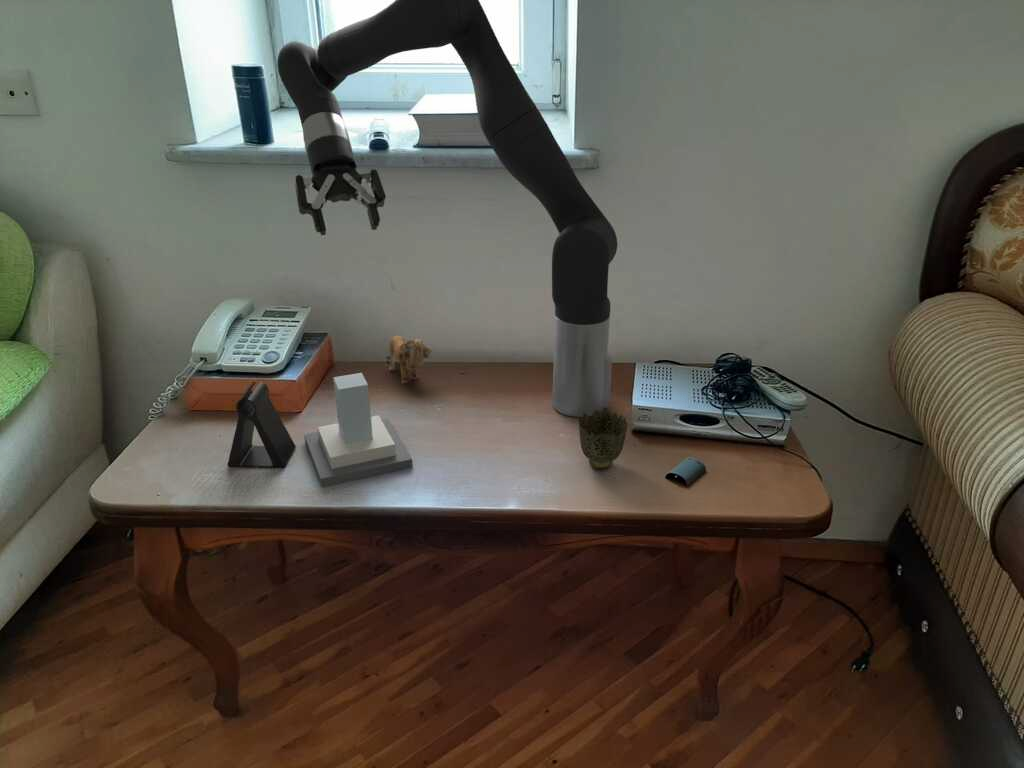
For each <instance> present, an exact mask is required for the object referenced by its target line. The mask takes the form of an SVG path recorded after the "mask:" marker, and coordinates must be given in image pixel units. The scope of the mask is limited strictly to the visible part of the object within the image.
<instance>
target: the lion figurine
mask: <svg viewBox="0 0 1024 768" xmlns="http://www.w3.org/2000/svg"><path fill="white" fill-rule="evenodd" d="M388 350H389V355H387V356H386V357H385V358H386V360H389V368H388V371H389V372H394V371H395V370H396V368H395V358H396V360H397V362H398V363H399V370H400V375H401V384H403V383H406V384H408V383H409V382H408V381H409V380H408V376H407V369H408V370H410V371H411V378H412V379H413V380H415V379H417V380H419V379H420V376H419V375H418V374H417V370H418V368H420V366H421V365H422V364H423V363H424V361H425V359H426V360H429V358H430V355H431V354H432V349H431V348H429V347H427V346H426V345H425V344H423V340H422V339H420V338H417V339H416V338H414V339H411V340H408V341H406V340H405V338H404V337H403V336H400V335H395V336H392V337H391V338H390V341H389V346H388ZM418 378H419V379H418Z"/></svg>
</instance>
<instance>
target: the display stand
mask: <svg viewBox="0 0 1024 768" xmlns="http://www.w3.org/2000/svg"><path fill="white" fill-rule="evenodd" d="M371 424H372V435H373V439H370V440H365V441H360V442H355V443H349V444H344V441H343V439H342V437H341V434H340V432H339V424H338V422H337V423H331V424H327V425H322V426H317V431H315V432H310V433H304V434H303V436H304V443H305V446H306V447H307V451H308V453H309V454H308V455H310V456H309V457H310V458H311V462H312V465H313V467H314V470H315V473H316V475H317V478H318V481H319V483H320V486H321V488H323V487H328V486H329V487H330V486H333V485H338V484H342V483H347V482H352V481H356V480H361V479H365V478H371V477H374V476H378V475H382V474H388V473H392V472H396V471H397V472H398V471H403V470H406V469H411V468H413V466H414V465H413V458H412V456H411V454H410V453H409V451H408V449H407V448H406V446H405V445H404V443H403V441H402V439H401V437H400V436H399V435H398V433H397V431H396V429H395V427H394V425H393V424H392V423H391V421H390V418H388V417H387V418H386V417H385V418H383V419H381V416H380V415H379V414H377V415H373V416H371Z"/></svg>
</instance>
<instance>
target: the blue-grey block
mask: <svg viewBox="0 0 1024 768" xmlns="http://www.w3.org/2000/svg"><path fill="white" fill-rule="evenodd" d="M333 386H334V388H333V389H334V395H335V397H334V398H335V406H336V413H337V423H338V424H339V432H340V434H341V437H342V439H343V441H344V444H349V443H355V442H360V441H365V440H370V439H373V435H372V424H371V417H372V416H371V415H372V414H371V403H370V394H369V391H370V390H369V384H368V382H367V380H366V378H365V376H364V374H363V372H359V373H353V374H347V375H340V376H339V375H338V376H334V377H333Z"/></svg>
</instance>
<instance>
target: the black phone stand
mask: <svg viewBox="0 0 1024 768" xmlns="http://www.w3.org/2000/svg"><path fill="white" fill-rule="evenodd" d="M255 385H256V381H252V382H251V383H250V385H249V386H248V387H247V389H246V390H245V391H244V393H243V394H242V395H241V397H240V399H238V401H237V402H236V405H235V406H236V407H235V408H236V411H237V418H238V419H237V423H236V427H235V430H234V435H233V439H232V443H231V444H232V445H231V448H230V453H229V457H228V462H227V467H228V468H241V469H243V468H244V469H245V468H246V469H247V468H248V469H249V468H250V469H251V468H252V469H255V468H258V469H285V468H286V466H287V464H288V463H289V460H290V459H291V457H292V455H293V453H294V452H295V449H296V444H295V442H294V440H293V439H292V437H291V435H290V433H289V431H288V430H287V428H286V426H285V424H284V422H283V421H282V419H281V417H280V415H279V413H278V411H277V410H276V408H275V406H274V404H273V403H272V401H271V398H270V392H269V391H270V390H269V389H270V388H269V386H268V385H267V383H265V382H263V381H260V382H259V383H258V385H257V386H256V388H255V389H254V390H253V391H252V389H253V387H255ZM255 429H256V432H257V434H258V436H259V438H260V440H261V442H262V444H263V445H253V437H254V430H255Z"/></svg>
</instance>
